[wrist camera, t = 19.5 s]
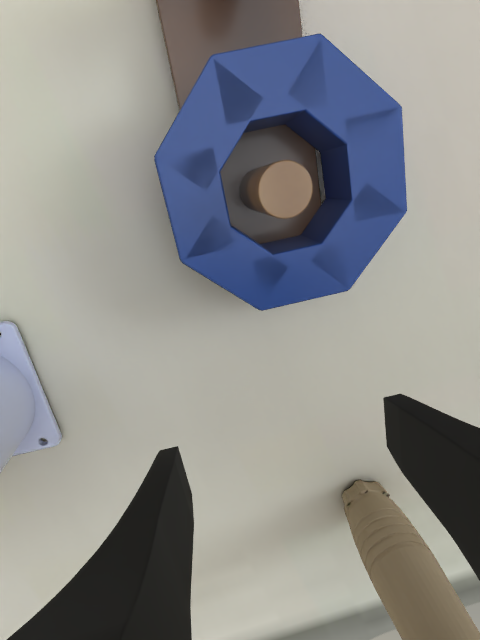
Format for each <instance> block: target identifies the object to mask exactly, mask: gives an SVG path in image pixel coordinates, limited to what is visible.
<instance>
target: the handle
mask: <svg viewBox="0 0 480 640" xmlns="http://www.w3.org/2000/svg"><path fill="white" fill-rule="evenodd" d="M389 496H390V495H389V494H388V493H387V491H386V490H385V489H384V488H383V487H382V486H381V485H380V484H379V483H378V482H364V481H362V480H358V481H355V482H354V484H353V485H352V486H351V487H350V488H349V489H347V490H345V491H344V493H343V495H342V498H343V501H344V504H345V507H344V510H345V514H346V517H347V520H348V522H349V526H350V529H351V533H352V535H353V538H354V541H355V544H356V546H357V549H358V551H359V554H360V556H361V559H362V561H363V563H364V566H365V568H366V570H367V572H368V574H369V577H370V579H371V581H372V583H373V585H374V587H375V589H376V591H377V593H378V595H379V597H380V599H381V601H382V602H383V604H384V606H385V608H386V610H387V612H388V614H389V616H390V617H391V619H392V621H393V623H394V625H395V627H396V629H397V631H398V632H399V634H400V636H401V638H402V640H480V633H479V631H478V629H477V627H476V626H475V624H474V623H473V621H472V619H471V617H470V616H469V614H468V612H467V611H466V609H465V607H464V606H463V604H462V602H461V601H460V599H459V597H458V595H457V594H456V592H455V590H454V589H453V587H452V585H451V584H450V582H449V580H448V579H447V577H446V575H445V573H444V572H443V570H442V568H441V567H440V565H439V563H438V562H437V560H436V558H435V557H434V555H433V554H432V552H431V550H430V549H429V548H428V546H427V545H426V543H425V542H424V540H423V539H422V537H421V536H420V534H419V533H418V532H417V530H416V529H415V527H414V526H413V525H412V524H411V522H410V521H409V519H408V518H407V517H406V516H405V514H404V513H403V512H402V511H401V509H400V508H399V507H398V506H397V505H396V504H395V503H394V502H393V501H392V500H391V499H390V498H389Z"/></svg>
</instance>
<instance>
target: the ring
mask: <svg viewBox="0 0 480 640" xmlns="http://www.w3.org/2000/svg"><path fill="white" fill-rule="evenodd" d="M284 124H285V125H287V126H288V127H289V128H290V129H292V130H293V131H294V132H295V133H297V134H298V135H299V136H300V137H302V138H303V139H304V140H306V141H307V142H308V143H309V144H311V145H312V146H313V147H314V148H316V149H317V150H318V151H319V152H320V155H321V163H322V172H323V180H324V188H325V197H326V199H325V200H324V202H323V203H322V205H321V206H320V208H319V209H318V211H317V212H316V214H315V215H314V217H313V218H312V219H311V221H310V222H309V224H308V225H307V227H306V228H305V230H304V231H303V233H302V234H301V235H299V236H294V237H290V238H285V239H281V240H276V241H272V242H267V243H263V244H259V243H258V242H256V241H255V240H253V239H252V238H250V237H249V236H247V235H246V234H244V233H243V232H241V231H240V230H238V229H237V228H235V227H234V226H232V225H231V223H230V218H229V213H228V208H227V203H226V198H225V193H224V188H223V184H222V179H221V174H220V171H221V169H222V168H223V166H224V164H225V163H226V161H227V159H228V158H229V156H230V154H231V153H232V151H233V149H234V148H235V146H236V145H237V143H238V141H239V140H240V138H241V136H242V135H243V133H245V132H250V131H255V130H260V129H265V128H269V127H274V126H279V125H284ZM154 157H155V164H156V168H157V172H158V176H159V180H160V184H161V188H162V192H163V195H164V199H165V203H166V207H167V211H168V215H169V219H170V223H171V227H172V231H173V235H174V239H175V242H176V246H177V250H178V254H179V258H180V260H181V262H182V263H183V264H185V265H186V266H188V267H190V268H191V269H193V270H195V271H196V272H198V273H199V274H201V275H203V276H204V277H206V278H208V279H209V280H211V281H213V282H214V283H216V284H217V285H219V286H221V287H222V288H224V289H226V290H227V291H229V292H230V293H232V294H234V295H235V296H237V297H239V298H240V299H242V300H243V301H245V302H247V303H248V304H250V305H252V306H253V307H255V308H257V309H258V310H267V309H271V308H275V307H280V306H284V305H288V304H293V303H297V302H301V301H306V300H310V299H314V298H319V297H323V296H327V295H332V294H336V293H340V292H345V291H348V290H349V289H350V288H351V287H352V285H353V284H354V283H355V281H356V280H357V279H358V277H359V276H360V274H361V273H362V272H363V270H364V269H365V268H366V266H367V265H368V264H369V262H370V261H371V259H372V258H373V257H374V255H375V254H376V253H377V251H378V250H379V249H380V247H381V246H382V244H383V243H384V242H385V240H386V239H387V238H388V236H389V235H390V234H391V232H392V231H393V229H394V228H395V227H396V225H397V224H398V223H399V221H400V220H401V219H402V217H403V216H404V214H405V213H406V211H407V202H406V182H405V163H404V143H403V123H402V107H401V106H400V104H398V103H397V102H396V101H395V100H394V99H393V98H392V97H391V96H390V95H388V94H387V93H386V92H385V91H384V90H383V89H382V88H381V87H380V86H378V85H377V84H376V83H375V82H374V81H373V80H372V79H371V78H370V77H368V76H367V75H366V74H365V73H364V72H363V71H362V70H361V69H360V68H358V67H357V66H356V65H355V64H354V63H353V62H352V61H351V60H350V59H349V58H347V57H346V56H345V55H344V54H343V53H342V52H341V51H340V50H339V49H337V48H336V47H335V46H334V45H333V44H332V43H331V42H330V41H329V40H327V39H326V38H325V37H324V36H323V35H321V34H315V35H310V36H305V37H300V38H294V39H289V40H284V41H279V42H274V43H269V44H264V45H259V46H254V47H249V48H243V49H238V50H233V51H228V52H223V53H218V54H213V55H212V56H210V58H209V60H208V61H207V63H206V65H205V67H204V69H203V70H202V72H201V74H200V76H199V77H198V79H197V81H196V83H195V85H194V86H193V88H192V90H191V92H190V93H189V95H188V97H187V99H186V101H185V102H184V104H183V106H182V108H181V109H180V111H179V113H178V115H177V117H176V118H175V120H174V122H173V124H172V126H171V127H170V129H169V131H168V133H167V134H166V136H165V138H164V140H163V142H162V143H161V145H160V147H159V149H158V150H157V152H156V154H155V156H154Z"/></svg>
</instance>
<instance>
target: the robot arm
mask: <svg viewBox="0 0 480 640" xmlns="http://www.w3.org/2000/svg"><path fill="white" fill-rule="evenodd" d="M0 332H1V336H0V473H1V471H2V470H3V468H4V467H5V465H6V464H7V463H8V461H9V460H10V458H11V457H12V456H15V455H19V454H24V453H28V452H32V451H37V450H41V449H45V448H50V447H54V446H57V445H58V444H59V443H60V441H61V439H62V434H61V432H60V429H59V427H58V425H57V422H56V420H55V417H54V415H53V412H52V410H51V408H50V405H49V403H48V400H47V398H46V395H45V393H44V391H43V388H42V386H41V383H40V381H39V378H38V376H37V374H36V371H35V369H34V366H33V364H32V361H31V359H30V357H29V354H28V352H27V349H26V347H25V344H24V342H23V340H22V337H21V335H20V332H19V330H18V327H17V326H16V324H14V323H13V322H10V321H2V322H0ZM384 412H385V426H386V440H387V447H388V449H389V451H390V453H391V454H392V456H393V458H394V460H395V461H396V463H397V465H398V466H399V468H400V470H401V471H402V473H403V474H404V475H405V477H406V478H407V479H408V481H409V482H410V483H411V485H412V486H413V487H414V489H415V490H416V491H417V492H418V494H419V495H420V496H421V498H422V499H423V500H424V501H425V503H426V504H427V505H428V507H429V508H430V509H431V510H432V512H433V513H434V514H435V516H436V517H437V518H438V519H439V521H440V522H441V523H442V525H443V526H444V527H445V528H446V530H447V531H448V533H449V534H450V535H451V537H452V538H453V540H454V541H455V542H456V544H457V545H458V547H459V549H460V550H461V552H462V553H463V555H464V556H465V558H466V560H467V561H468V563H469V564H470V566H471V567H472V569H473V571H474V572H475V574H476V575H477V577H478V579H479V580H480V428H478V427H475V426H473V425H470V424H468V423H465V422H463V421H461V420H458V419H456V418H454V417H451V416H449V415H447V414H445V413H442V412H440V411H438V410H436V409H434V408H432V407H429V406H427V405H425V404H423V403H421V402H419V401H416V400H414V399H412V398H410V397H407V396H405V395H402V394H397V395H393V396H389V397H384ZM41 438H44V439H46V440H47V442H44V441H42V440H41ZM193 532H194V518H193V503H192V493H191V489H190V486H189V483H188V479H187V476H186V472H185V469H184V466H183V462H182V459H181V455H180V452H179V448H178V446H177V447H173V448H168V449H164V450H160V451H159V453H158V454H157V456H156V458H155V460H154V462H153V464H152V466H151V468H150V470H149V471H148V473H147V475H146V477H145V479H144V481H143V483H142V484H141V486H140V488H139V490H138V491H137V493H136V495H135V496H134V498H133V500H132V502H131V503H130V505H129V506H128V508H127V509H126V511H125V512H124V514H123V516H122V517H121V519H120V520H119V522H118V523H117V525H116V526H115V527H114V529H113V530H112V532H111V533H110V534H109V536H108V537H107V539H106V540H105V541H104V542H103V544H102V545H101V546H100V548H99V549H98V550H97V551H96V552H95V554H94V555H93V556H92V557H91V558H90V559H89V560H88V562H87V563H86V564H85V565H84V566H83V567H82V568H81V569H80V571H79V572H78V573H77V574H76V575H75V576H74V577H73V578H72V580H71V581H70V582H69V583H68V584H67V585H66V586H65V587H64V588H63V589H62V590H61V591H60V592H59V593H58V594H57V595H56V596H55V597H54V598H53V599H52V600H51V601H50V602H49V603H48V604H47V605H45V606H44V607H43V608H42V609H41V610H40V611H39V612H38V613H37V614H36V615H35V616H34V617H33V618H31V619H30V620H29V621H28V622H27V623H26V624H24V625H23V626H22V627H21V628H20V629H19V630H17V631H16V632H15V633H14V634H13V635H12V636H11V637H9V638H8V639H7V640H192V638H191V613H190V599H191V575H192V554H193Z"/></svg>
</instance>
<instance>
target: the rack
mask: <svg viewBox="0 0 480 640" xmlns="http://www.w3.org/2000/svg"><path fill="white" fill-rule="evenodd" d="M156 4H157V8H158V13H159V18H160V22H161V27H162V32H163V36H164V41H165V46H166V50H167V55H168V60H169V64H170V69H171V74H172V78H173V83H174V88H175V92H176V97H177V102H178V106H179V111H180V109H181V108H182V106H183V104H184V102H185V101H186V99H187V97H188V95H189V93H190V92H191V90H192V88H193V86H194V85H195V83H196V81H197V79H198V77H199V76H200V74H201V72H202V70H203V69H204V67H205V65H206V63H207V61H208V60H209V58H210V56H212V55H213V54H218V53H223V52H228V51H233V50H238V49H243V48H249V47H254V46H259V45H264V44H269V43H274V42H279V41H284V40H289V39H294V38H300V37H302V28H301V19H300V10H299V1H298V0H156ZM220 174H221V179H222V184H223V188H224V193H225V198H226V203H227V208H228V213H229V218H230V223H231V225H232V226H234V227H235V228H237V229H238V230H240V231H241V232H243V233H244V234H246V235H247V236H249V237H250V238H252V239H253V240H255V241H256V242H258V243H259V244H263V243H267V242H272V241H276V240H281V239H285V238H290V237H294V236H299V235H301V234H302V233H303V231H304V230H305V228H306V227H307V225H308V224H309V222H310V221H311V219H312V218H313V217H314V215H315V214H316V212H317V211H318V209H319V208H320V206H321V198H320V189H319V180H318V171H317V162H316V153H315V148H314V147H313V146H312V145H311V144H309V143H308V142H307V141H306V140H304V139H303V138H302V137H300V136H299V135H298V134H297V133H295V132H294V131H293V130H292V129H290V128H289V127H288V126H287V125H285V124H284V125H279V126H274V127H269V128H265V129H260V130H255V131H250V132H245V133H243V135H242V136H241V138H240V140H239V141H238V143H237V145H236V146H235V148H234V149H233V151H232V153H231V154H230V156H229V158H228V159H227V161H226V163H225V164H224V166H223V168H222V169H221V171H220Z"/></svg>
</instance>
